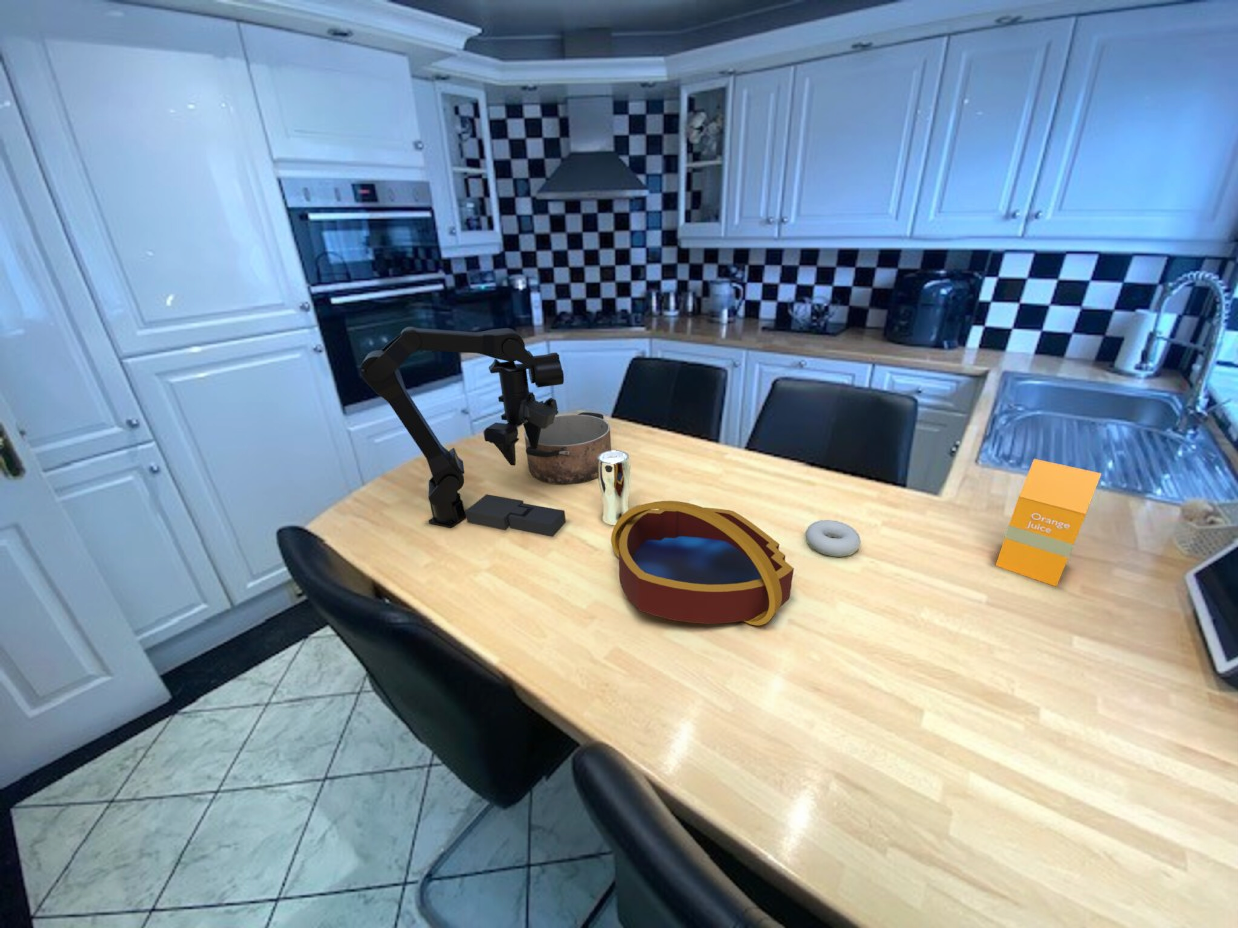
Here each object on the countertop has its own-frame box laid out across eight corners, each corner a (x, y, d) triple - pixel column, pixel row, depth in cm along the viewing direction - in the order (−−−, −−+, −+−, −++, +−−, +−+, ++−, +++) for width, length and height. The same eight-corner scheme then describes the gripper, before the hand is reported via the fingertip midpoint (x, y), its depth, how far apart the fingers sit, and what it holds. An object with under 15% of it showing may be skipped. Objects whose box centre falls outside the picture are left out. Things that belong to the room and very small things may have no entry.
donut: (858, 565, 93) (860, 536, 101) (861, 550, 92) (862, 521, 100) (801, 553, 97) (807, 526, 105) (803, 538, 96) (809, 512, 104)
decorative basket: (815, 597, 89) (831, 520, 84) (719, 675, 69) (733, 580, 64) (668, 530, 111) (674, 465, 107) (564, 574, 92) (566, 497, 87)
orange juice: (1005, 547, 96) (1037, 451, 88) (1064, 566, 90) (1105, 465, 82) (994, 565, 91) (1028, 466, 83) (1056, 587, 85) (1099, 482, 77)
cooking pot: (579, 498, 120) (575, 457, 116) (503, 483, 129) (497, 444, 125) (630, 450, 144) (629, 415, 140) (563, 440, 153) (560, 406, 149)
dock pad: (467, 522, 113) (465, 510, 111) (488, 505, 119) (486, 494, 118) (516, 532, 108) (514, 520, 107) (535, 513, 115) (534, 502, 113)
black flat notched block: (510, 528, 110) (508, 516, 108) (524, 514, 115) (523, 503, 113) (552, 536, 106) (551, 524, 105) (565, 522, 111) (564, 510, 110)
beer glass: (629, 527, 108) (626, 464, 101) (597, 525, 109) (592, 462, 103) (634, 511, 114) (632, 450, 107) (604, 509, 115) (600, 449, 109)
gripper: (524, 407, 97) (533, 479, 104) (569, 380, 112) (574, 445, 119) (476, 402, 101) (488, 472, 108) (525, 377, 116) (533, 440, 123)
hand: (524, 456), depth 114 cm, fingers open, 9 cm apart
